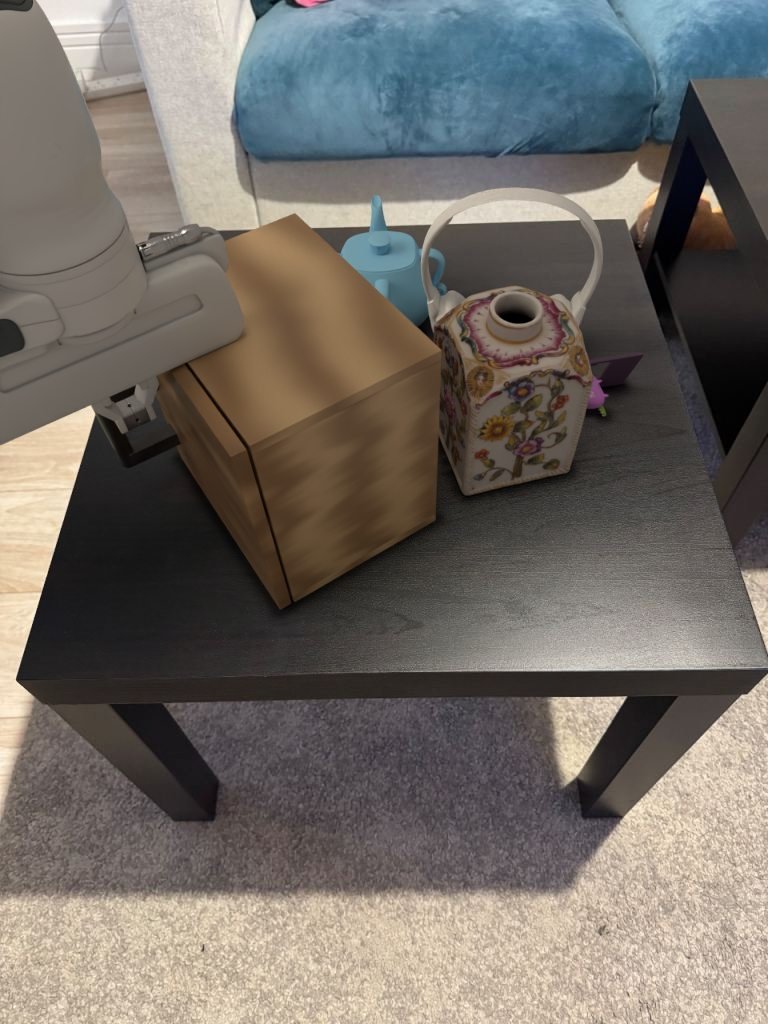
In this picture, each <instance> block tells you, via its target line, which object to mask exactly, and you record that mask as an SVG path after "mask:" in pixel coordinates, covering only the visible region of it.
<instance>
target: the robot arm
mask: <svg viewBox="0 0 768 1024" xmlns="http://www.w3.org/2000/svg"><path fill="white" fill-rule="evenodd" d="M224 241H225V239H224V236H223V235H222V233H221V232H219V230H217V229H215V228H213V227H211V226H200V225H199V224H198V223H190V224H189V223H188V224H186V225H183V226H181V227H179V228H178V229H177V230H174V231H172V232H169V233H165V234H162V235H158V236H155V237H152V238H149V239H146V240H144V241H141V242H139V243H136V241H135V239H134V236H133V232H132V230H131V227H130V225H129V221H128V218H127V215H126V212H125V210H124V207H123V205H122V202H121V200H120V198H119V197H118V196H117V194H116V193H115V192H114V190H113V189H112V187H111V186H110V184H109V183H108V179H106V175H105V173H104V167H103V155H102V145H101V141H100V138H99V135H98V132H97V129H96V127H95V123H94V120H93V117H92V115H91V113H90V110H89V107H88V104H87V102H86V99H85V96H84V94H83V91H82V88H81V86H80V84H79V81H78V79H77V76H76V74H75V72H74V69H73V67H72V64H71V62H70V60H69V58H68V56H67V53H66V51H65V49H64V47H63V45H62V43H61V40H60V39H59V37H58V34H57V33H56V30H55V29H54V27H53V25H52V23H51V21H50V20H49V18H48V16H47V14H46V13H45V11H44V10H43V8H42V7H41V5H40V4H39V2H38V1H37V0H0V446H2V445H5V444H7V443H9V442H13V441H14V440H16V439H18V438H21V437H23V436H25V435H28V434H30V433H32V432H34V431H36V430H39V429H41V428H43V427H45V426H47V425H49V424H52V423H54V422H56V421H59V420H61V419H64V418H65V417H68V416H70V415H72V414H74V413H77V412H78V411H81V410H84V409H85V408H88V407H91V406H92V407H91V409H92V408H93V409H92V410H94V411H95V412H96V413H98V414H100V415H102V416H104V417H106V418H109V419H111V420H113V421H115V423H116V425H117V426H118V428H119V430H120V431H121V433H122V434H124V433H126V434H127V433H128V432H130V431H132V430H134V429H136V428H139V427H140V426H143V425H145V424H147V423H149V422H151V421H154V420H156V419H157V417H158V416H157V414H156V412H155V410H154V407H153V404H154V401H155V398H156V392H157V389H158V386H159V382H158V379H157V375H160V374H162V373H164V372H166V371H169V370H171V369H173V368H175V367H178V366H180V365H182V364H184V363H187V362H189V361H191V360H193V359H196V358H198V357H200V356H202V355H205V354H207V353H209V352H211V351H214V350H216V349H218V348H220V347H223V346H225V345H227V344H229V343H232V342H234V341H236V340H237V339H239V337H240V335H241V333H242V331H243V329H244V326H245V321H244V317H243V314H242V310H241V308H240V305H239V302H238V299H237V297H236V294H235V292H234V290H233V287H232V285H231V283H230V281H229V279H228V277H227V276H226V274H225V273H226V271H227V268H228V264H229V260H228V254H227V250H226V246H225V242H224ZM135 385H136V389H135V394H134V395H132V396H130V397H128V398H126V399H124V400H121V401H119V402H117V403H115V402H113V401H111V399H110V396H113V395H115V394H117V393H119V392H122V391H124V390H126V389H128V388H130V387H133V386H135ZM94 411H93V412H94Z"/></svg>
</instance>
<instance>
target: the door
mask: <svg viewBox="0 0 768 1024" xmlns="http://www.w3.org/2000/svg"><path fill="white" fill-rule="evenodd" d="M157 379H158V382H159V386H158V389H157V392H156V396H155V398H156V400H157V402H158V405H159V407H160V409H161V412H162V414H163V417H164V419H165V422H166V425H164V426H162V427H159V428H157V429H155V430H153V431H151V432H149V433H147V434H144V435H142V436H140V437H137V438H136V439H134V440H131V441H130V439H129V437H128V436H127V432H126V433H124V434H122V433H121V431H120V430H119V428H118V426H117V425H116V423H115V421H113V420H111V419H109V418H106V417H104V416H102V415H100V414H98V413H96V412H95V411H94V410H93V408H92V406H91V405H90V407H91V409H92V410H93V413H94V415H95V417H96V418H97V420H98V422H99V425H101V426H100V427H101V428H102V430H103V432H104V434H105V436H106V438H107V439H108V441H109V444H110V445H111V447H112V449H113V451H114V453H115V455H116V457H117V459H118V461H119V462H120V464H121V466H122V467H123V468H126V469H131V468H134V467H136V466H138V465H140V464H142V463H144V462H146V461H148V460H151V459H152V458H154V457H156V456H159V455H161V454H163V453H165V452H168V451H169V450H172V449H173V448H175V447H176V448H177V451H178V454H179V456H180V458H181V460H182V461H183V463H184V464H185V466H186V467H187V469H188V470H189V472H190V474H191V475H192V477H193V478H194V480H195V482H196V483H197V485H198V486H199V488H200V489H201V491H202V492H203V493H204V495H205V496H206V498H207V500H208V501H209V503H210V504H211V506H212V507H213V509H214V510H215V512H216V513H217V515H218V517H219V518H220V520H221V521H222V523H223V524H224V526H225V527H226V529H227V530H228V532H229V533H230V535H231V536H232V538H233V540H234V541H235V543H236V544H237V546H238V547H239V549H240V551H241V552H242V553H243V555H244V556H245V558H246V560H247V562H248V563H249V565H250V566H251V568H252V570H253V571H254V572H255V573H256V575H257V576H258V578H259V580H260V581H261V583H262V584H263V585H264V587H265V589H266V590H267V592H268V594H269V595H270V596H271V598H272V600H273V601H274V602H275V605H276V606H277V607H278V609H279V610H283V609H284V608H286V607H288V606H290V605H291V604H292V599H291V597H290V595H289V593H288V589H287V586H286V583H285V579H284V576H283V572H282V569H281V566H280V562H279V559H278V555H277V552H276V548H275V545H274V542H273V538H272V535H271V531H270V528H269V524H268V521H267V518H266V514H265V511H264V507H263V504H262V501H261V497H260V494H259V490H258V487H257V483H256V480H255V477H254V473H253V470H252V466H251V463H250V460H249V456H248V453H247V449H246V448H245V446H244V445H243V444H242V442H241V441H240V440H239V438H238V437H237V435H236V434H235V433H234V431H233V430H232V429H231V427H230V426H229V424H228V423H227V422H226V420H225V419H224V418H223V416H222V415H221V413H220V412H219V411H218V409H217V408H216V407H215V405H214V404H213V402H212V401H211V400H210V398H209V397H208V396H207V394H206V393H205V391H204V390H203V389H202V387H201V386H200V385H199V383H198V382H197V380H196V379H195V378H194V376H193V375H192V374H191V372H190V371H189V370H188V368H187V367H186V365H185V364H182V365H180V366H178V367H175V368H173V369H171V370H169V371H166V372H164V373H162V374H160V375H157ZM135 389H136V385H135V386H133V387H130V388H128V389H126V390H124V391H122V392H119V393H117V394H115V395H113V396H110V399H111V401H113V402H115V403H117V402H119V401H121V400H124V399H126V398H128V397H130V396H132V395H134V394H135Z"/></svg>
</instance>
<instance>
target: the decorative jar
mask: <svg viewBox="0 0 768 1024" xmlns="http://www.w3.org/2000/svg"><path fill="white" fill-rule="evenodd" d="M432 342H433V343H434V344H435V345H437V346H438V347H439V348H440V349H441V350H442V355H441V381H440V409H439V436H438V439H439V441H440V443H441V445H442V448H443V450H444V452H445V455H446V457H447V460H448V462H449V465H450V467H451V469H452V471H453V473H454V477H455V479H456V481H457V484H458V487H459V489H460V491H461V493H462V494H463V495H464V496H473V495H476V494H480V493H481V494H482V493H485V492H489V491H492V490H493V491H494V490H496V489H501V488H504V487H509V486H514V485H519V484H523V483H528V482H531V481H535V480H540V479H544V478H548V477H554V476H558V475H563V474H567V473H568V472H570V470H571V466H572V463H573V460H574V457H575V453H576V450H577V446H578V442H579V440H580V437H581V432H582V428H583V424H584V420H585V418H586V412H587V405H588V400H589V396H590V393H591V389H592V386H593V381H594V378H593V376H594V375H593V373H592V366H591V364H590V360H591V358H590V355H589V354H588V352H587V350H586V346H585V340H584V337H583V333H582V331H581V329H580V326H579V327H578V324H577V322H576V321H575V319H574V317H573V315H572V314H571V312H570V311H569V310H568V309H567V307H566V306H565V305H564V303H562V302H561V301H558V300H556V299H553V298H551V297H550V296H549V295H547V294H544V293H542V292H540V291H538V290H532V289H530V288H527V287H523V286H520V285H510V286H504V287H498V288H493V289H487V290H485V291H481V292H478V293H474V294H471V295H469V296H468V297H465V300H464V301H463V302H462V303H460V304H459V305H457V306H456V307H455V308H453V309H451V310H450V311H449V312H448V313H446V314H445V315H444V316H443V317H442V318H441V319H440V320H438V321H437V322H436V323H435V325H434V333H433V340H432Z"/></svg>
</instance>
